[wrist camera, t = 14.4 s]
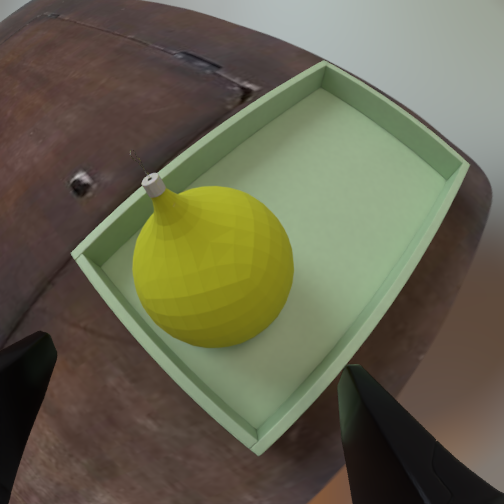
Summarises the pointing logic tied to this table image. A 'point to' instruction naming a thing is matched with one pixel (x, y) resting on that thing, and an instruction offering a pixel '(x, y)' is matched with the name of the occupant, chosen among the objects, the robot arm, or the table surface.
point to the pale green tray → (295, 240)
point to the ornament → (211, 264)
